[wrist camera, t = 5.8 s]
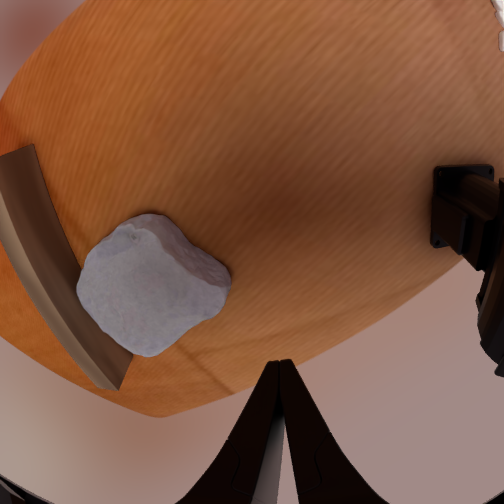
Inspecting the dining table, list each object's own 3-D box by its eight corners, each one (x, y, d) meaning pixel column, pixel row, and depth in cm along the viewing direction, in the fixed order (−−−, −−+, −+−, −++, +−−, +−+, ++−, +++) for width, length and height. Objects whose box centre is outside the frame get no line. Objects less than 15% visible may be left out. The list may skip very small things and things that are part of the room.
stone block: (93, 269, 24) (160, 343, 26) (61, 290, 20) (138, 373, 21) (159, 183, 20) (245, 278, 21) (124, 192, 16) (231, 310, 17)
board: (33, 143, 16) (-9, 159, 12) (133, 356, 27) (118, 390, 23) (16, 156, 16) (-23, 174, 12) (113, 355, 28) (98, 387, 23)
